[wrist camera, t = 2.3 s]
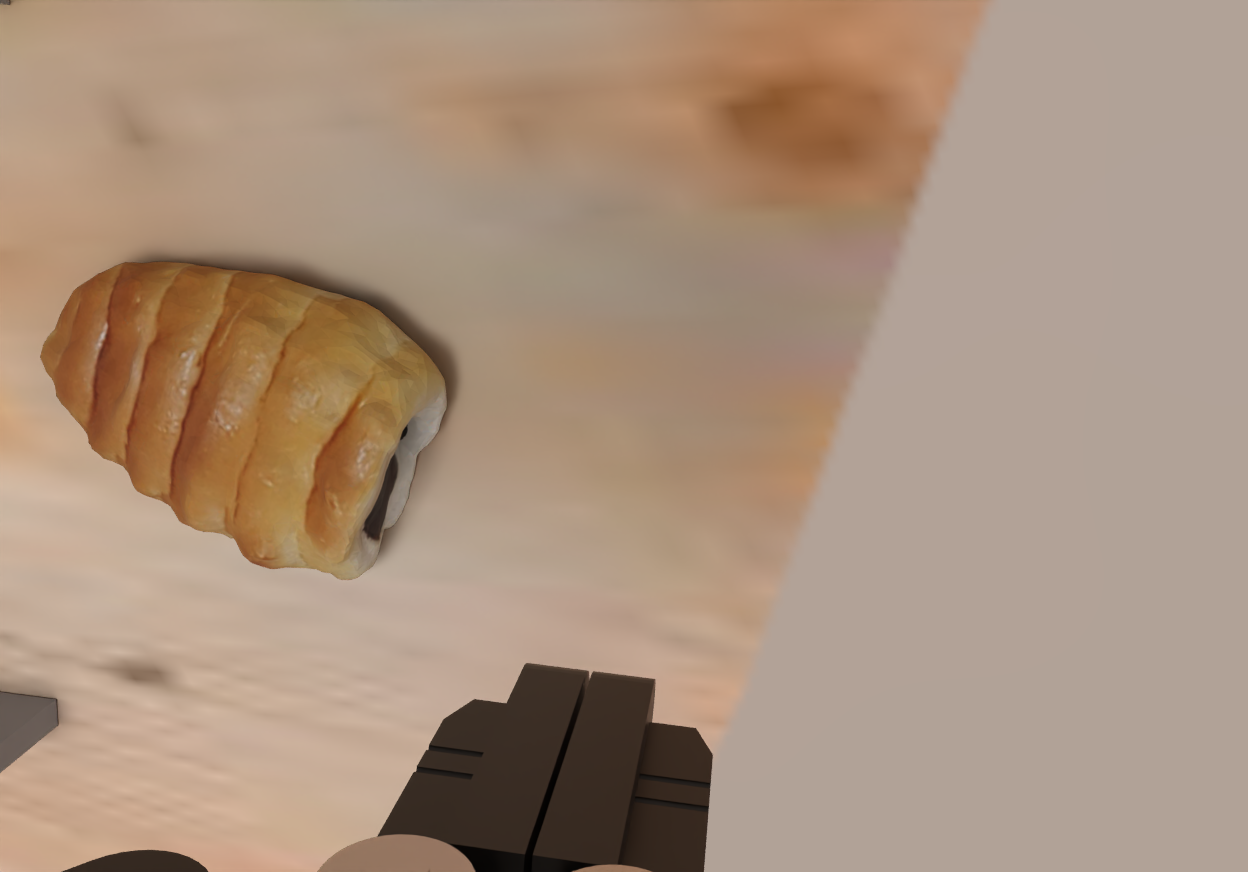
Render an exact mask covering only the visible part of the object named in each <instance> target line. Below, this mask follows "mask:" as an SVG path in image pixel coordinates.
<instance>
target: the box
mask: <svg viewBox="0 0 1248 872" xmlns="http://www.w3.org/2000/svg"><path fill="white" fill-rule="evenodd" d="M0 4H7V5H10V4H9V0H0ZM56 726H58V720H57V705H56V699H49V698H42V697H34V696H26V695H19V694H11V693H3V692H0V773H1V772H2V771H3V770H4V769H5V768H7V767H8V766H9V765H10V764H11V763H13V762H14V761H15V760H16V759H18V758H19V757H20V756H21V755H22V754H24V753H25V752H26V751H27V750H29V749H30V748H31V747H32V746H33V745H35V744H36V743H37V742H38V741H39V740H41V739H42V738H43V737H44V736H46V735H47V734H48V733H49V732H50V731H52V730H53V729H54V728H55V727H56Z"/></svg>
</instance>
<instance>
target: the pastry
mask: <svg viewBox="0 0 1248 872" xmlns="http://www.w3.org/2000/svg"><path fill="white" fill-rule="evenodd" d="M40 358H41V360H42V362H43V365H44V367H45V370H46V372H47V373H48V375H49V376H50V377H51V378H52V380H53V381H54V385H55V389H56V396H57V397H58V399H59V401H60V402H61V404H62V405H63V406H64V407H65V408H66V409H67V410H68V411H69V412H70V414H71V415H72V416H73V417H74V418H75V420H76V421H77V422H78V423H79V424H80V425H81V426H82V427H83V429H84V430H85V431H86V433H87V435H88V439H89V442H88V443H89V444H90V445H91V447H92V449H93V450H94V451H96V452H97V453H98V454H100V455H101V456H102V457H103V458H104V459H107V460H110V461H113V462H115V463H118V464H120V465H122V466H124V468H125V469H126V470H127V472H128V473H129V476H130V478H131V481H132V483H133V486H134V487H135V489H136V490H137V491H138V492H140V493H142V494H144V495H146V496H149V497H152V498H155V499H158V500H161V501H163V502H164V503H166V504H168V505H169V506H171V508H172V509H173V511H174V512H175V514H176V516H177V518H178V519H179V521H180V522H182V523H183V524H186V525H188V526H190V527H192V528H194V529H196V530H199V531H203V532H215V533H221V534H224V535H226V536H228V537H229V538H234V539H235V541H236V542H237V545H238V547H239V549H240V551H241V553H242V555H243V556H244V557H246V558H247V559H248V560H249V561H250V562H252V563H254V564H257V565H259V566H262V567H266V568H269V569H278V568H285V567H292V568H310V569H317V570H319V571H321V572H326V573H331V574H332V575H334V576H335V577H337V578H338V579H341V580H351V579H355V578H358V577H359V576H360V575H362V574H363V573H364V572H365V571H367V570H368V569H370V568H371V567H372V566H373V565H374V563H375V561H376V558H377V555H378V552H379V549H380V544H381V540H382V536H383V532H384V529H387V528H390V527H392V526H393V525H394V524H395V523H396V522H397V520H398V518H399V517H400V515H401V513H402V511H403V508H404V505H405V503H406V501H407V499H408V497H409V489H410V484H411V481H412V479H413V476H414V472H415V467H416V458H417V454H418V453H419V452H420V451H421V450H422V449H423V448H424V447H426V446H427V445H428V444H429V443H430V442H431V441H432V440H433V438H434V437H435V435H436V434H437V432H438V431H439V427H440V422H441V420H442V417H443V414H444V412H445V410H446V408H447V399H446V388H445V380H444V378H443V376H442V375H441V373H440V371H439V370H438V368H437V367H436V365H435V364H434V363H433V361H432V360H431V359H430V357H429V356H428V355H427V354H426V353H425V352H424V351H423V350H422V349H421V348H420V347H419V346H418V345H417V344H416V343H415V342H414V341H413V340H411V339H410V338H409V337H408V336H407V335H406V334H405V333H404V332H403V331H401V330H400V329H399V328H398V327H397V326H396V325H395V324H394V323H393V322H392V321H391V320H390V319H388V318H387V317H386V316H385V315H384V314H383V313H382V312H381V311H379V310H378V309H376V308H374V307H372V306H371V305H369V304H367V303H365V302H363V301H360V300H355V299H352V298H349V297H346V296H344V295H341V294H337V293H332V292H328V291H324V290H320V289H317V288H314V287H310V286H307V285H304V284H300V283H297V282H295V281H292V280H289V279H286V278H283V277H280V276H277V275H272V274H263V273H252V272H245V271H239V270H226V269H221V268H215V267H210V266H198V265H194V264H189V263H174V262H151V263H132V262H125V263H122V264H119V265H117V266H115V267H113V268H111V269H109V270H106V271H104V272H102V273H99V274H97V275H96V276H94V277H93V278H92V279H90V280H89V281H87V282H85V283H84V284H82V285H81V286H79V287H78V288H76V289H75V290H74V291H73V293H72V295H71V296H70V298H69V300H68V302H67V303H66V305H65V307H64V309H63V311H62V313H61V315H60V317H59V320H58V323H57V325H56V328H55V330H54V331H53V332H52V333H51V334H50V335H49V336H48V338H47V340H46V341H45V343H44V345H43V348H42V352H41V356H40Z"/></svg>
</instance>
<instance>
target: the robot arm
mask: <svg viewBox="0 0 1248 872" xmlns="http://www.w3.org/2000/svg"><path fill="white" fill-rule="evenodd" d="M654 697H655V679H650V678H642V677H634V676H626V675H618V674H611V673H603V672H595V671H593V673H592V675H591V678H590V681H589V671H586V670H578V669H570V668H562V667H554V666H546V665H539V664H531V663H526V664H525V665H524V667H523V669H522V671H521V674H520V676H519V678H518V680H517V682H516V684H515V686H514V689H513V691H512V693H511V695H510V697H509V699H508V701H507V704H506V703H499V702H491V701H483V700H476V699H474V700H472V701H471V702H469V703H468V704H466V705H465V706H463V707H462V708H460V709H459V710H457V711H456V712H454V713H453V714H451V715H449V716H448V717H446V718H445V719H444V720H443V721H442V723H441V725H440V727H439V729H438V730H437V732H436V734H435V736H434V737H433V739H432V741H431V743H430V744H429V749H428V750H426V751H425V753H424V755H423V757H422V759H421V760H420V762H419V764H418V766H417V770H416V772H414V773H413V774H412V776H411V778H410V780H409V782H408V783H407V785H406V787H405V789H404V790H403V792H402V794H401V796H400V797H399V799H398V801H397V803H396V804H395V806H394V808H393V810H392V812H391V813H390V815H389V817H388V819H387V820H386V822H385V824H384V826H383V827H382V829H381V831H380V833H379V834H378V836H377V837H373V838H369V839H366V840H363V841H359V842H357V843H354V844H352V845H350V846H347V847H346V848H344V849H342V850H340V851H339V852H337V853H336V854H334V855H333V856H332V857H330V858H329V859H328V860H327V861H326V862H325V863H324V864H323V865H322V866H321V867H320V869H319V870H318V871H317V872H704V862H705V849H706V835H707V823H708V809H709V797H710V784H711V771H712V758H713V755H712V753H711V751H710V750H709V748H708V747H707V745H706V743H705V742H704V740H703V739H702V737H701V735H700V734H699V732H698V731H697V729H696V728H690V727H683V726H675V725H667V724H660V723H652V718H653V708H654ZM63 872H208V871H207V869H206V868H205V867H204V866H202V865H201V864H200V863H199V862H197V861H195V860H193V859H192V858H190V857H187V856H184V855H181V854H178V853H173V852H168V851H159V850H137V851H129V852H121V853H117V854H112V855H108V856H104V857H101V858H98V859H95V860H92V861H89V862H87V863H84V864H81V865H79V866H76V867H73V868H71V869H68V870H65V871H63Z"/></svg>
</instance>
